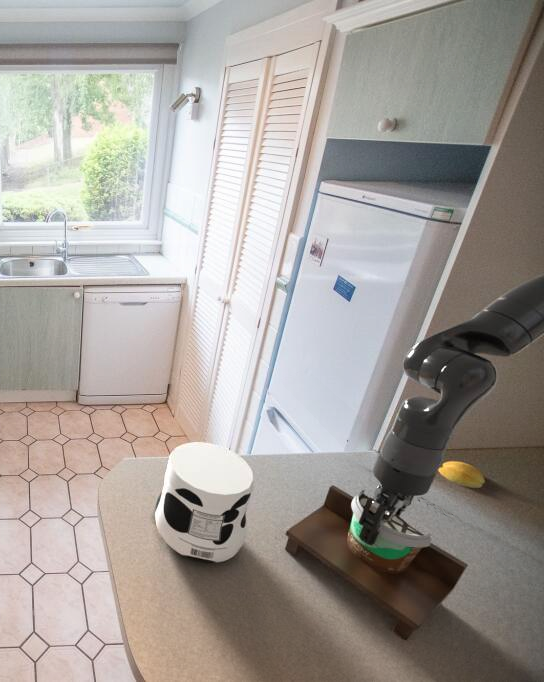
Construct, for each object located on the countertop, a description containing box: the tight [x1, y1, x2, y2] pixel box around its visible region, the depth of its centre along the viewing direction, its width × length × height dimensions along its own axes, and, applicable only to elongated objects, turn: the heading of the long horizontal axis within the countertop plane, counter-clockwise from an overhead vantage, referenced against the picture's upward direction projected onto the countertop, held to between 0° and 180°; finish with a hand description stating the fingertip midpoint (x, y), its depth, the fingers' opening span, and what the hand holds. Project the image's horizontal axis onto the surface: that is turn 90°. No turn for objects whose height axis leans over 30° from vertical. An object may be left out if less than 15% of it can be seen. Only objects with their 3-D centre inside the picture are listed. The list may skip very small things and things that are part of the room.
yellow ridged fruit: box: [438, 460, 486, 489], centre depth 107 cm, size 8×9×4 cm
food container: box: [347, 489, 432, 573], centre depth 81 cm, size 12×6×10 cm, turn 21°
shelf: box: [284, 484, 469, 642], centre depth 83 cm, size 22×14×10 cm, turn 31°
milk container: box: [154, 441, 254, 564], centre depth 90 cm, size 17×17×18 cm
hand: (376, 532), depth 81 cm, fingers open, 6 cm apart
